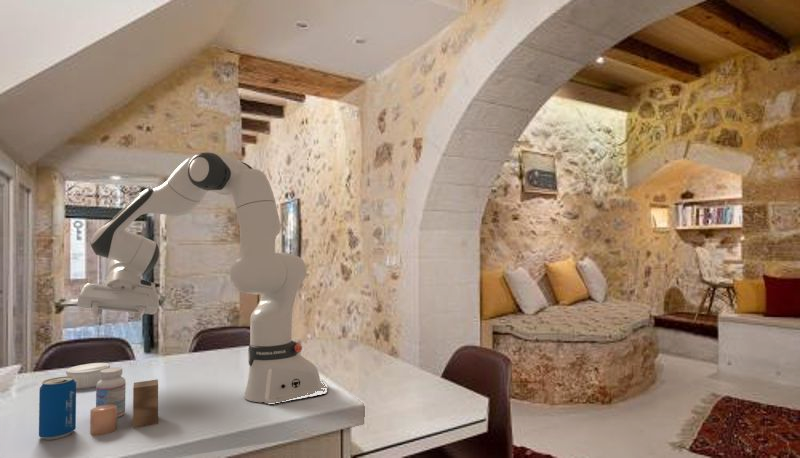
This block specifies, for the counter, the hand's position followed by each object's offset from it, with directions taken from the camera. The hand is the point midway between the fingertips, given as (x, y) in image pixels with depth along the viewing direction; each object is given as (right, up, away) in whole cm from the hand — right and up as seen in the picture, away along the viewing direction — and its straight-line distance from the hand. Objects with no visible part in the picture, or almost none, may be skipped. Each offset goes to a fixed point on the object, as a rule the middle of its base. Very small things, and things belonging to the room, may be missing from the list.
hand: (117, 317), depth 127 cm
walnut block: (+20, -21, -21) cm, 35 cm away
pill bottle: (+9, -21, -16) cm, 28 cm away
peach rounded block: (+13, -20, -26) cm, 35 cm away
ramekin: (-16, -23, +11) cm, 30 cm away
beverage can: (+4, -21, -28) cm, 35 cm away
